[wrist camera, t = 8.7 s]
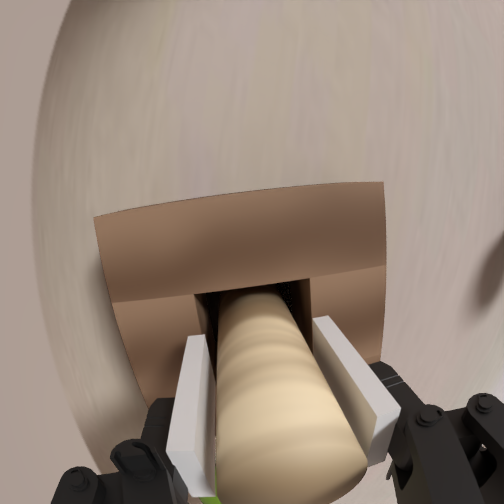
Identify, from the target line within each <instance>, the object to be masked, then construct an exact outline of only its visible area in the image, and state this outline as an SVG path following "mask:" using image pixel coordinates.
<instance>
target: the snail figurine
mask: <svg viewBox="0 0 504 504" xmlns="http://www.w3.org/2000/svg"><path fill="white" fill-rule="evenodd" d="M215 492H216V497H199V498H200V500H201V502H202V503H203V504H222V503H221V502H220V501H219V499H218V497H217V487H216V466H215Z"/></svg>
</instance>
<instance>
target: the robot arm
mask: <svg viewBox="0 0 504 504" xmlns="http://www.w3.org/2000/svg"><path fill="white" fill-rule="evenodd" d="M312 322H313V357H314V358H315V360H316V362H317V364H318V366H319V368H320V370H321V372H322V374H323V376H324V377H325V379H326V381H327V383H328V385H329V387H330V389H331V391H332V393H333V395H334V397H335V398H336V400H337V402H338V404H339V406H340V408H341V410H342V412H343V414H344V416H345V418H346V419H347V421H348V423H349V425H350V427H351V429H352V431H353V433H354V435H355V437H356V439H357V441H358V443H359V444H360V446H361V448H362V450H363V452H364V454H365V456H366V458H367V461H368V467H370V466H372V465H375V464H378V463H381V462H383V461H385V458H386V456H387V453H389V454H390V456H391V458H392V459H393V461H392V463H391V466H390V468H389V470H388V473H387V476H386V480H389V479H390V477H391V475H392V477H393V482H394V487H395V492H396V498H397V503H398V504H504V404H503V403H502V402H501V401H500V400H499V399H497V398H496V397H495V396H493V395H491V394H487V393H479V394H476V395H473V396H472V397H471V398H470V399H469V401H468V403H467V406H466V407H464V408H460V409H455V410H451V411H444V410H443V409H442V408H440V407H438V406H435V405H430V404H427V405H425V404H424V403H423V402H422V401H421V400H420V399H419V398H418V396H417V395H416V394H415V393H414V392H413V391H412V390H411V388H410V387H409V386H408V385H407V384H406V383H405V382H403V379H402V378H401V377H400V376H398V374H397V373H396V371H395V370H394V369H393V368H392V367H391V366H389V365H387V364H385V363H383V362H381V361H379V362H375V363H372V364H368V365H367V363H366V362H365V361H364V360H363V358H362V357H361V356H360V355H359V353H358V352H357V351H356V349H355V348H354V347H353V346H352V344H351V343H350V342H349V341H348V339H347V338H346V337H345V336H344V334H343V333H342V332H341V331H340V329H339V328H338V327H337V326H336V324H335V323H334V322H333V321H332V319H331V318H330V317H329V316H323V317H317V318H312ZM215 383H216V382H215V378H214V374H213V369H212V365H211V361H210V356H209V352H208V347H207V342H206V338H205V334H203V335H194V336H188V339H187V343H186V348H185V352H184V357H183V362H182V367H181V372H180V377H179V381H178V387H177V392H176V397H171V398H157V399H156V400H155V401H154V402H153V403H152V405H151V406H150V407H149V410H148V414H147V419H146V421H145V427H144V428H143V432H142V436H141V439H130V440H126V441H123V442H121V443H120V444H118V445H116V446H115V448H114V449H113V450H112V451H111V455H110V459H111V461H112V462H113V463H114V465H115V466H116V467H117V469H118V470H119V472H116V473H110V474H103V475H96V473H94V472H93V471H92V470H91V469H89V468H87V467H74V468H71V469H69V470H67V471H66V472H65V473H64V474H63V476H62V477H61V479H60V482H59V484H58V487H57V489H56V491H55V494H54V497H53V499H52V501H51V504H189V503H188V502H187V501H188V491H189V493H190V494H191V496H192V497H216V492H215ZM482 444H483V445H484V446H485V447H486V448H484V447H482Z"/></svg>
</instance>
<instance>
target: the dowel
mask: <svg viewBox="0 0 504 504" xmlns="http://www.w3.org/2000/svg"><path fill="white" fill-rule="evenodd" d="M367 467H368V461H367V458H366V456H365V454H364V452H363V450H362V448H361V446H360V444H359V443H358V441H357V439H356V437H355V435H354V433H353V431H352V429H351V427H350V425H349V423H348V421H347V419H346V418H345V416H344V414H343V412H342V410H341V408H340V406H339V404H338V402H337V400H336V398H335V397H334V395H333V393H332V391H331V389H330V387H329V385H328V383H327V381H326V379H325V377H324V376H323V374H322V372H321V370H320V368H319V366H318V364H317V362H316V360H315V358H314V357H313V355H312V353H311V351H310V349H309V347H308V345H307V343H306V341H305V339H304V338H303V336H302V334H301V332H300V330H299V328H298V326H297V324H296V322H295V321H294V319H293V317H292V315H291V313H290V311H289V309H288V307H287V306H286V304H285V302H284V300H283V298H282V296H281V294H280V292H279V290H278V289H277V287H276V285H275V284H274V283H273V284H266V285H259V286H252V287H245V288H238V289H230V290H223V291H221V293H220V297H219V319H218V349H217V394H216V487H217V497H218V499H219V501H220V502H221V503H222V504H330V503H332V502H334V501H336V500H337V499H339V498H341V497H342V496H344V495H345V494H347V493H348V492H349V491H351V490H352V489H353V488H354V487H355V486H356V485H357V484H358V483H359V482H360V481H361V480H362V478H363V477H364V475H365V473H366V471H367Z"/></svg>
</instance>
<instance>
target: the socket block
mask: <svg viewBox="0 0 504 504" xmlns="http://www.w3.org/2000/svg"><path fill="white" fill-rule="evenodd" d="M93 218H94V224H95V230H96V236H97V242H98V247H99V252H100V257H101V261H102V266H103V271H104V275H105V279H106V283H107V287H108V291H109V295H110V299H111V303H112V307H113V310H114V314H115V317H116V321H117V324H118V327H119V331H120V334H121V337H122V340H123V343H124V346H125V349H126V352H127V355H128V358H129V361H130V363H131V366H132V369H133V372H134V374H135V377H136V380H137V382H138V385H139V387H140V390H141V392H142V395H143V397H144V400H145V402H146V404H147V407H148V409H149V407H150V406H151V405H152V403H153V402H154V401H155V400H156V399H157V398H171V397H176V392H177V387H178V381H179V377H180V372H181V367H182V362H183V357H184V352H185V348H186V343H187V339H188V336H194V335H203V334H205V338H206V342H207V347H208V352H209V356H210V361H211V365H212V369H213V374H214V378H215V382H216V383H215V436H216V394H217V349H218V342H215V340H214V335H213V329H212V324H211V319H210V314H209V308H208V303H207V297H206V293H207V292H215V291H223V290H230V289H238V288H245V287H252V286H259V285H266V284H273V283H280V282H287V281H290V288H291V301H292V315H293V319H294V321H295V322H296V324H297V326H298V328H299V330H300V332H301V334H302V336H303V338H304V339H305V341H306V343H307V345H308V347H309V349H310V351H311V353H312V355H313V322H312V318H317V317H323V316H329V317H330V318H331V319H332V321H333V322H334V323H335V324H336V326H337V327H338V328H339V329H340V331H341V332H342V333H343V334H344V336H345V337H346V338H347V339H348V341H349V342H350V343H351V344H352V346H353V347H354V348H355V349H356V351H357V352H358V353H359V355H360V356H361V357H362V358H363V360H364V361H365V362H366V363H367V365H368V364H372V363H375V362H379V361H380V357H381V348H382V338H383V327H384V313H385V295H386V216H385V198H384V184H383V182H346V183H330V184H317V185H305V186H294V187H283V188H274V189H264V190H255V191H246V192H238V193H230V194H222V195H215V196H207V197H200V198H193V199H187V200H180V201H174V202H168V203H161V204H155V205H150V206H144V207H138V208H133V209H127V210H123V211H118V212H114V213H110V214H106V215H101V216H97V217H93Z"/></svg>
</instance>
